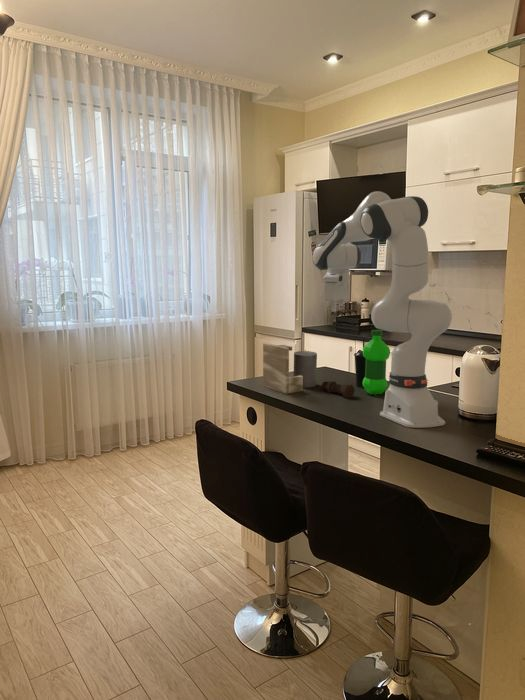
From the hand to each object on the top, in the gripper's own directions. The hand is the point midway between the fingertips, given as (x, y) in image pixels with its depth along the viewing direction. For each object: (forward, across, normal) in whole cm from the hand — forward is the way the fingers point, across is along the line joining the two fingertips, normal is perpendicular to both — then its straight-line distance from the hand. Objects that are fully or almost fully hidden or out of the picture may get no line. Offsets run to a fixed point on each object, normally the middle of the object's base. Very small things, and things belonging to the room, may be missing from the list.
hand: (337, 310), depth 221 cm
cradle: (+31, +16, -17) cm, 39 cm away
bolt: (+32, +13, +6) cm, 35 cm away
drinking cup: (+31, -3, +11) cm, 33 cm away
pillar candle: (+31, +6, -11) cm, 34 cm away
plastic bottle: (+31, +6, +19) cm, 37 cm away
